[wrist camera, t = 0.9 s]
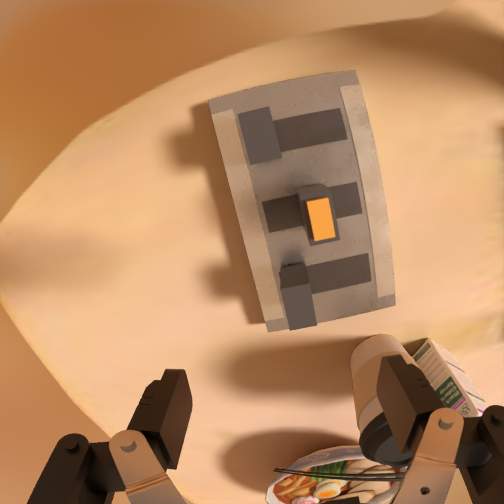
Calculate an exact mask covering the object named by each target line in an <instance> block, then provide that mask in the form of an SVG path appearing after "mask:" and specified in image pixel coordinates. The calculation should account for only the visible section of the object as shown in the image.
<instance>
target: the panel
mask: <svg viewBox="0 0 504 504" xmlns="http://www.w3.org/2000/svg"><path fill="white" fill-rule="evenodd" d="M208 103H209V107H210V111H211V116H212V120H213V124H214V128H215V132H216V136H217V139H218V143H219V147H220V151H221V155H222V159H223V163H224V167H225V171H226V174H227V178H228V182H229V186H230V190H231V194H232V198H233V201H234V205H235V209H236V213H237V217H238V221H239V225H240V228H241V232H242V236H243V240H244V244H245V248H246V251H247V255H248V259H249V263H250V267H251V270H252V274H253V278H254V282H255V286H256V290H257V293H258V297H259V301H260V305H261V308H262V312H263V316H264V320H265V323H266V327H267V331H268V332H274V331H279V330H285V329H289V325H288V321H287V316H286V312H285V308H284V303H283V299H282V295H281V290H280V268H282V267H287V266H292V265H297V264H301V263H305V265H306V269H307V274H308V278H309V283H310V288H311V294H312V299H313V304H314V310H315V315H316V321H317V323H321V322H326V321H331V320H336V319H340V318H345V317H349V316H354V315H358V314H362V313H367V312H371V311H375V310H379V309H383V308H387V307H391V306H395V305H396V304H395V282H394V268H393V257H392V247H391V238H390V229H389V222H388V214H387V207H386V201H385V194H384V188H383V182H382V177H381V171H380V166H379V161H378V156H377V151H376V146H375V142H374V137H373V133H372V129H371V124H370V120H369V116H368V112H367V108H366V105H365V101H364V97H363V93H362V90H361V86H360V84H359V81H358V77H357V74H356V71H355V70H350V71H342V72H335V73H328V74H321V75H315V76H309V77H303V78H298V79H292V80H287V81H282V82H277V83H273V84H268V85H264V86H259V87H255V88H251V89H247V90H243V91H239V92H235V93H232V94H228V95H224V96H221V97H217V98H214V99H211V100H208ZM268 106H269V108H270V112H271V115H272V119H273V123H274V127H275V131H276V135H277V139H278V143H279V147H280V151H281V155H282V158H279V159H275V160H270V161H266V162H262V163H257V164H253V165H250V162H249V158H248V154H247V150H246V146H245V142H244V139H243V135H242V131H241V127H240V123H239V119H238V115H237V114H239V113H243V112H247V111H251V110H255V109H259V108H264V107H268ZM317 184H323V185H325V186H327V187H328V188H330V189H331V193H332V198H333V203H334V208H335V213H336V219H337V224H338V230H339V235H340V240H338V241H334V242H329V243H324V244H319V245H315V246H310V244H309V241H308V238H307V235H306V232H305V228H304V223H303V219H302V214H301V209H300V205H299V200H298V196H297V191H296V189H298V188H303V187H307V186H312V185H317Z"/></svg>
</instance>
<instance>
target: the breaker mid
mask: <svg viewBox="0 0 504 504" xmlns="http://www.w3.org/2000/svg"><path fill="white" fill-rule="evenodd" d="M296 191H297V196H298V200H299V205H300V209H301V214H302V219H303V223H304V228H305V232H306V235H307V238H308V241H309V244H310V246H315V245H319V244H324V243H329V242H334V241H338V240H340V235H339V230H338V224H337V219H336V213H335V208H334V203H333V198H332V193H331V189H330V188H328V187H327V186H325V185H323V184H317V185H312V186H307V187H303V188H298V189H296Z"/></svg>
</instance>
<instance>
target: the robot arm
mask: <svg viewBox="0 0 504 504" xmlns="http://www.w3.org/2000/svg"><path fill="white" fill-rule="evenodd" d="M376 391H377V397H378V400H379V402H380V404H381V407H382V409H383V412H384V414H385V416H386V419H387V421H388V424H389V426H390V429H391V431H392V434H393V436H394V439H395V441H396V444H397V446H398V449H399V451H400V454H405V453H408V452H410V453H411V455H412V458H411V460H410V462H409V465H408V467H407V469H406V471H405V473H404V476H403V478H402V480H401V482H400V484H399V486H398V488H397V490H396V492H395V494H394V496H393V497H392V499H391V501H390V503H389V504H444V503H445V500H446V497H447V494H448V491H449V488H450V486H451V482H452V479H453V476H454V473H455V470H456V468H459V470H460V472H461V475H462V477H463V479H464V482H465V485H466V487H467V490H468V492H469V495H470V497H471V500H472V503H473V504H504V407H503V406H499V405H492V406H489V407H487V408H486V409H485V410H484V412H483V414H482V416H479V417H462V415H461V414H460V413H459V412H458V411H456V410H454V409H451V408H445V406H444V404H443V403H442V401H441V400H440V398H439V396H438V395H437V393H436V392H435V390H434V389H433V387H432V385H430V382H429V381H428V379H426V376H425V375H424V373H423V372H422V370H421V369H420V368H418V367H417V366H415V365H414V364H412V363H411V364H407V363H406V361H405V360H404V358H403V357H402V355H401V354H395V355H390V356H384V357H382V359H381V364H380V369H379V375H378V380H377V386H376ZM191 412H192V395H191V391H190V387H189V383H188V379H187V375H186V372H185V370H184V369H166V370H165V371H164V374H163V376H162V378H161V380H154V381H153V382H152V383H151V384H149V385H148V386H147V387H146V389H145V391H144V393H143V395H142V398H141V399H140V402H139V405H138V406H137V408H136V410H135V412H134V414H133V417H132V419H131V421H130V423H129V425H128V427H127V429H126V430H124V431H121V432H119V433H117V434H115V435H114V436H113V437H112V438H111V440H110V441H109V442H98V443H89V442H88V440H87V438H86V437H84V436H83V435H81V434H76V433H74V434H68V435H66V436H64V437H63V438H61V439H60V440H59V441H58V443H57V445H56V447H55V448H54V450H53V452H52V454H51V456H50V458H49V460H48V462H47V464H46V466H45V468H44V470H43V472H42V474H41V475H40V478H39V480H38V482H37V484H36V486H35V488H34V490H33V492H32V494H31V496H30V498H29V500H28V503H27V504H111V503H112V500H113V497H114V493H115V492H117V491H125V492H126V494H127V496H128V499H129V501H130V503H131V504H186V502H185V501H184V499H183V498H182V496H181V495H180V493H179V492H178V490H177V489H176V487H175V486H174V484H173V483H172V481H171V480H170V478H169V477H168V475H167V474H166V470H167V469H175V470H176V469H177V465H178V461H179V457H180V453H181V449H182V446H183V442H184V438H185V434H186V431H187V427H188V423H189V419H190V415H191ZM320 504H368V503H360V500H359V496H355V497H350V498H344V499H338V500H331V501H326V502H323V503H320Z"/></svg>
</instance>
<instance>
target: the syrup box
mask: <svg viewBox="0 0 504 504" xmlns="http://www.w3.org/2000/svg"><path fill="white" fill-rule="evenodd" d="M412 358H413V359H414V361H415V362H416V363H417V365H418V366H419V368H420V369H421V370H422V372H423V373H424V375H425V376H426V378H427V379H428V381H429V382H430V383H431V385H432V386H433V388H434V389H435V391H436V393H437V395H438V396H439V398H440V400H442V401H443V402H444V403H445V404H446V407H447V408H451V409H454V410H456V411H458V412H459V413H460V414H461V415H462V417H479V416H482V414H483V412H484V410H485V409H486V408H487V407H489V406H488V405H487V403H486V402H485V400H484V399H483V397H482V396H481V394H480V393H479V391H478V390H477V389H476V387H475V386H474V384H473V383H472V381H471V380H470V379H469V377H468V376H467V374H466V373H465V371H464V370H463V368H462V367H461V366H460V364H459V363H458V362H457V360H456V359H455V358H454V356H453V355H452V354H451V353H450V352H449V351H447V350H446V349H444V348H443V347H441V346H440V345H438V344H437V343H435V342H434V341H432V340H431V339H429V338H428V339H427V340H426V341H425V343H424V344H423V345H422V346H421V347H420V348H419V349H418V351H417V352H416V353H415V354H414V355H413V356H412Z"/></svg>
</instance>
